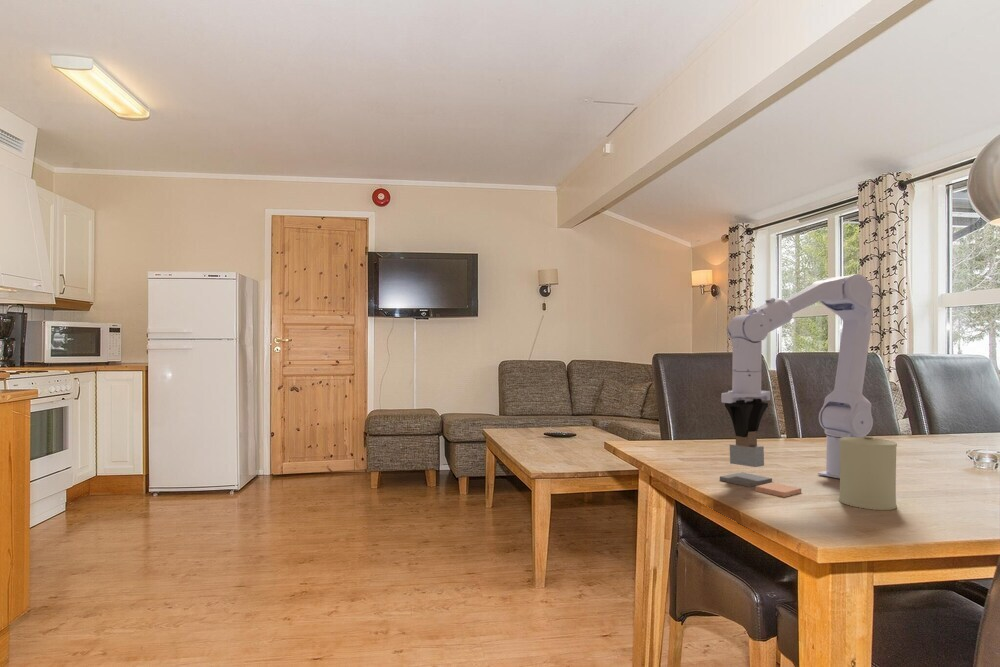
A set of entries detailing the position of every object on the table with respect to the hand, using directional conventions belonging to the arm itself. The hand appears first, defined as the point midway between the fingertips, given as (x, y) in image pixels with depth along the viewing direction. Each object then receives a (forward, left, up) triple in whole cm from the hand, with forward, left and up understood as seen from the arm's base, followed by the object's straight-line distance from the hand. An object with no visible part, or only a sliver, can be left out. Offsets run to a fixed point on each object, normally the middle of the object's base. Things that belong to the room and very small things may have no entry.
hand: (746, 435), depth 133 cm
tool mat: (0, 0, -10) cm, 10 cm away
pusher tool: (0, 0, -6) cm, 6 cm away
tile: (0, +9, -9) cm, 13 cm away
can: (-3, +23, -10) cm, 25 cm away
